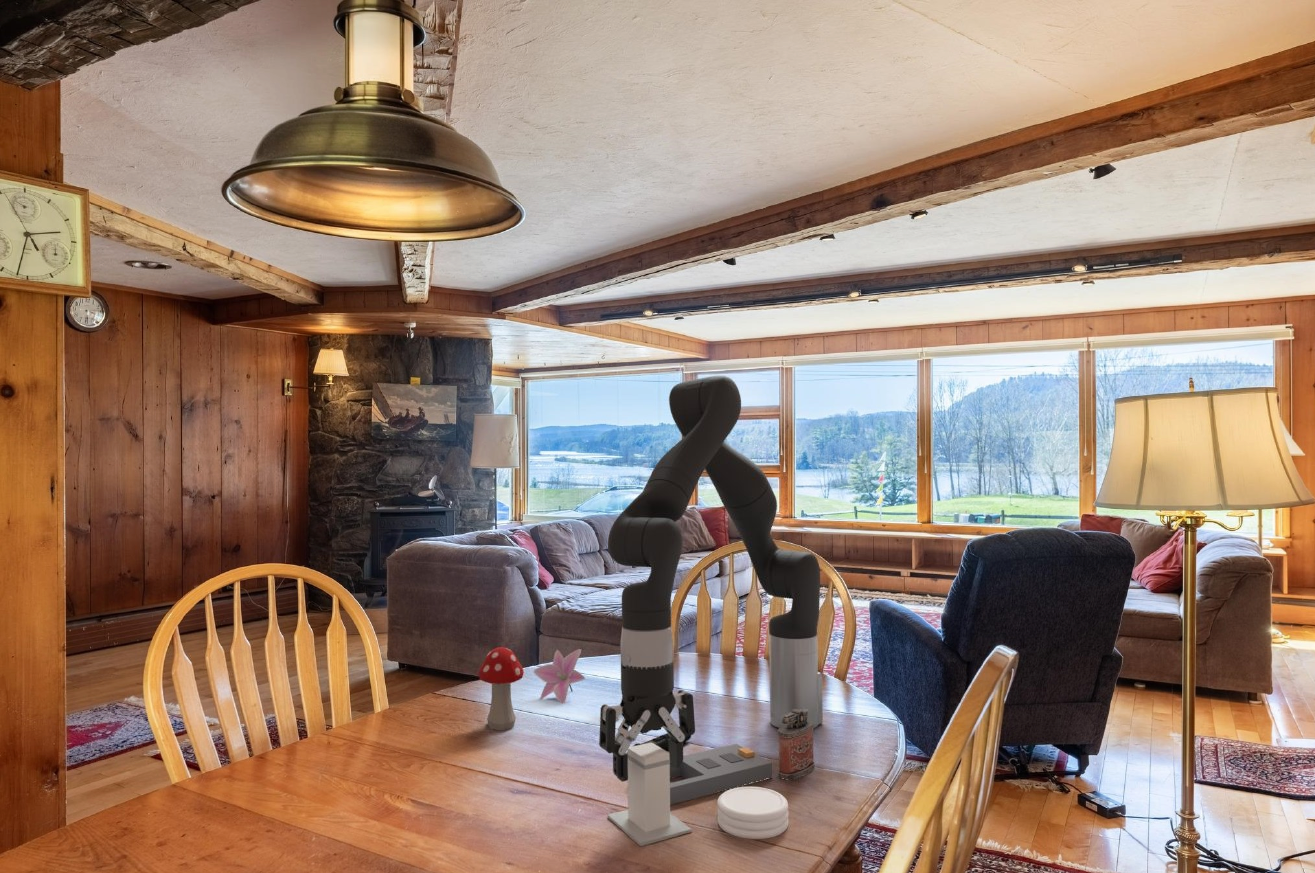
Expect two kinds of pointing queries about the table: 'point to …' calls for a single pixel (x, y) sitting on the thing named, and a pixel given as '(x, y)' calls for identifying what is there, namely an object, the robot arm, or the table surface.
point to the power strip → (717, 772)
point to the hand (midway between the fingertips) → (648, 772)
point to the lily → (560, 675)
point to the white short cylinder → (752, 812)
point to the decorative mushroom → (501, 685)
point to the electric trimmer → (663, 741)
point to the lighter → (796, 745)
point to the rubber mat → (650, 836)
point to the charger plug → (648, 786)
